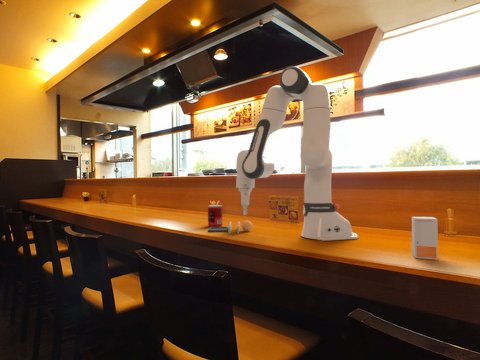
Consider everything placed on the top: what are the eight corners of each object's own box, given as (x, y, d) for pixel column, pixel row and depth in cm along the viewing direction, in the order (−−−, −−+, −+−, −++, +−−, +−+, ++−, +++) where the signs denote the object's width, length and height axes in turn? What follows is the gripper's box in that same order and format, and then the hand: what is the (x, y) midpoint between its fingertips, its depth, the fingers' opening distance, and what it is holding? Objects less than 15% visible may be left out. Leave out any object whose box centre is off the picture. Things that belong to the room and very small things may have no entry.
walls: (239, 228, 147) (239, 221, 147) (238, 234, 131) (238, 226, 131) (230, 228, 148) (230, 221, 148) (228, 234, 132) (228, 226, 132)
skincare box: (414, 258, 86) (413, 218, 86) (411, 255, 90) (411, 216, 90) (438, 260, 84) (437, 218, 84) (434, 256, 88) (434, 216, 88)
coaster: (228, 228, 147) (228, 226, 147) (226, 231, 138) (226, 229, 138) (210, 229, 147) (210, 227, 147) (207, 232, 138) (207, 230, 138)
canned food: (223, 224, 161) (223, 204, 161) (221, 227, 153) (220, 206, 153) (209, 224, 162) (209, 204, 162) (206, 227, 154) (206, 206, 154)
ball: (252, 230, 142) (251, 219, 142) (252, 231, 137) (252, 221, 137) (241, 230, 142) (241, 219, 142) (241, 232, 137) (241, 221, 137)
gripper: (252, 185, 129) (252, 216, 129) (251, 184, 150) (251, 211, 150) (238, 184, 129) (238, 216, 129) (239, 183, 150) (239, 210, 150)
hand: (245, 213), depth 140 cm, fingers open, 8 cm apart
